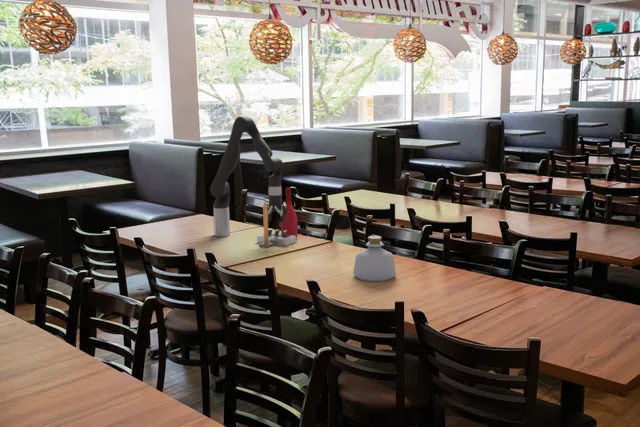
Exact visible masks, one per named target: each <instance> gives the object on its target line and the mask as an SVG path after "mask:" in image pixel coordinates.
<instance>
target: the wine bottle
mask: <svg viewBox="0 0 640 427" xmlns="http://www.w3.org/2000/svg"><path fill="white" fill-rule="evenodd" d="M284 189H285V190H284V191H285V204H286V205H287V215H285V216H284V222H282V223H281V222H280V234H282V232H283V231H284V230H287V233H286V234H288V235H296V238H297V237H298V216H297V213H296V211H295V208H294V206H293V203H292V198H291V196H292V193H291V192H292V188H291V187H286V188H284ZM285 204H284V205H285Z"/></svg>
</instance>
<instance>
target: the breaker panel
mask: <svg viewBox="0 0 640 427" xmlns="http://www.w3.org/2000/svg"><path fill="white" fill-rule="evenodd" d="M274 234H275V232H272V233H271V234H269V235H268V242H271V243H274V246H275V245H276V246H283V247H287V246H290V245H292V244H293V245H294V244H295V243H296V242H297V237H296V235H288V234H286V235H285V236H281V235H282V234H281V233H279V234H278V235H274ZM256 239H257V240H256V243H259V244H260V243H263V242H264V232H263V233H260V234H257V235H256Z"/></svg>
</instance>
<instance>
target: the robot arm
mask: <svg viewBox="0 0 640 427" xmlns="http://www.w3.org/2000/svg"><path fill="white" fill-rule="evenodd" d="M243 134H248V136H250V137H251V139H252V141H253V146H254V149H255V151H256V153H257V154H258V155H259V156H260V158H261V160H262V163H263V166H264V168H265V169H266V170H267V171H268V172H270V173H271V172H272V174H271V175H269V176H268V189H267V190H268V202H265V203H264V204H263V205H267V211H268V222H271V221H272V213H273V212H277V213H278V214H279V215H280V217H279V218H280V224H281V223H282V222H284V216H285V215H287V205H286V204H283V203H282V202H283V194H282V192H283V191H282V175H283V171H284V162H283V161H282V160H283V159H281V158H272V157H273V151H272V149H271V148H270V146H269V145H268V144H267V143H266V141H265V140H264V139H263V136H262V135H261V133H260V131H259V129H258V126H257V124H256V123H255V121H254V119H253V118H251V117H250V116H242V115H241V116H237V117H236V118H235V119H234V122H233V124H232V128H231V133H230V136H229V139H228V142H227V144H226V148H225V150H224V152H223V156H222V158H221V162H220V164H219V167H218V169H217V173H216V175H215V176H214V179H213V181H212V183H211V185H210V188H209V189H210V193H211V195H212V196H213V197H215V200H214V202H213V206H212V207H213V220H212V222H213V235H214V236H215V237H222V238H223V237H228V236H230V235H231V226H230V225H231V224H230V201H231V188H230V184H229V182H227V181H228V179H229V176H231V174H232V172H233V171H234V170H235V168H236V167H237V165H238V162H239V161H240V160H239V159H240V157H241V144H240V143H241V139H242V136H243Z"/></svg>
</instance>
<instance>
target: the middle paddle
mask: <svg viewBox="0 0 640 427" xmlns="http://www.w3.org/2000/svg"><path fill="white" fill-rule="evenodd" d="M280 232H281V229H278V228H277V229H276V230H275V231H274V233H275V234H274V235H278V234H280Z"/></svg>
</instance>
